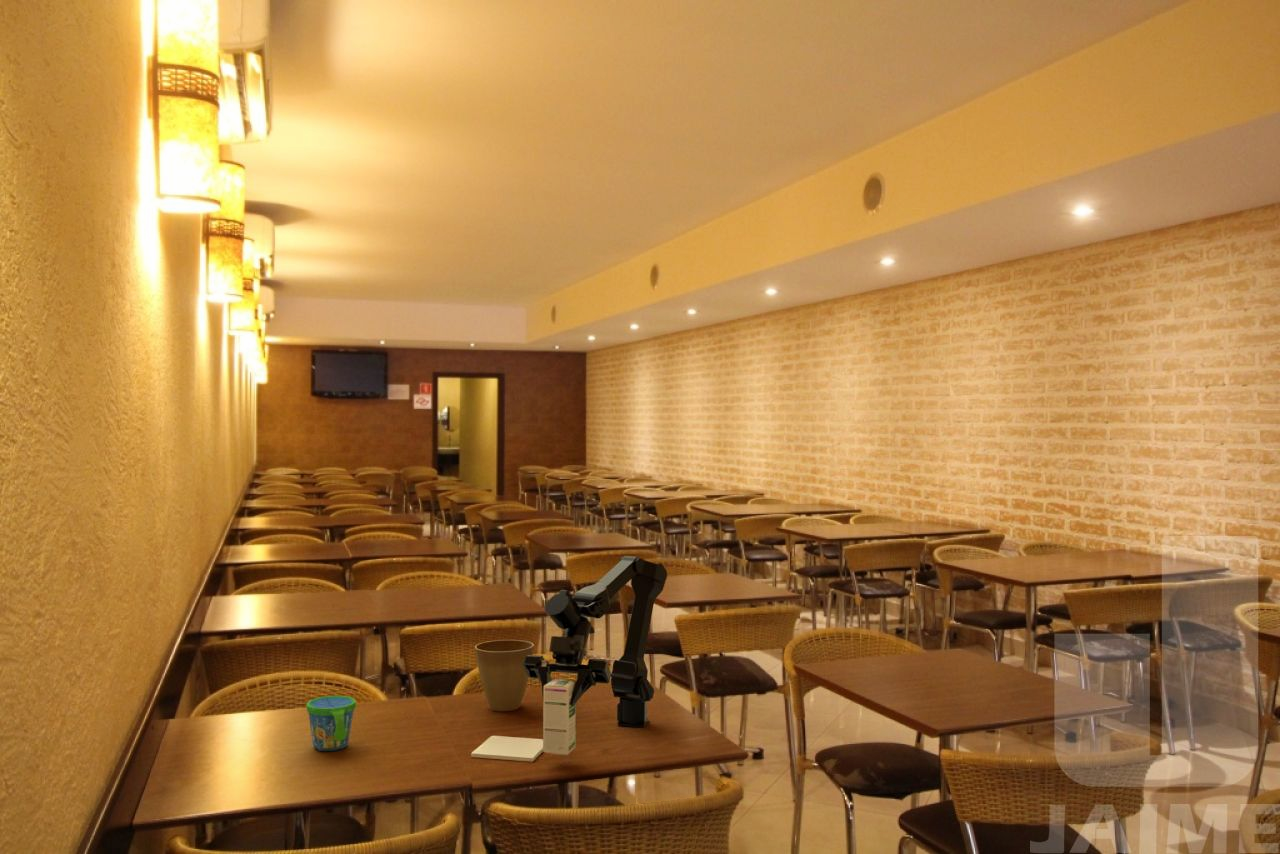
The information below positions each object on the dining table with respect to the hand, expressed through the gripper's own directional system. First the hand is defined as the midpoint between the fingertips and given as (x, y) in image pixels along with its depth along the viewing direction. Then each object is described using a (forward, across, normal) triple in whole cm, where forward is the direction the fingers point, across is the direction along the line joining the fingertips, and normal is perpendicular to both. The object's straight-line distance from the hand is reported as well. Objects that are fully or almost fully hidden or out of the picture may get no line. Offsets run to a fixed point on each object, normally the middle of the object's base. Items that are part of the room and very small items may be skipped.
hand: (557, 703), depth 219 cm
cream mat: (+4, -13, +14) cm, 20 cm away
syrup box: (+6, 0, +8) cm, 11 cm away
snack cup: (+10, -53, +8) cm, 55 cm away
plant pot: (-18, -28, +37) cm, 50 cm away
